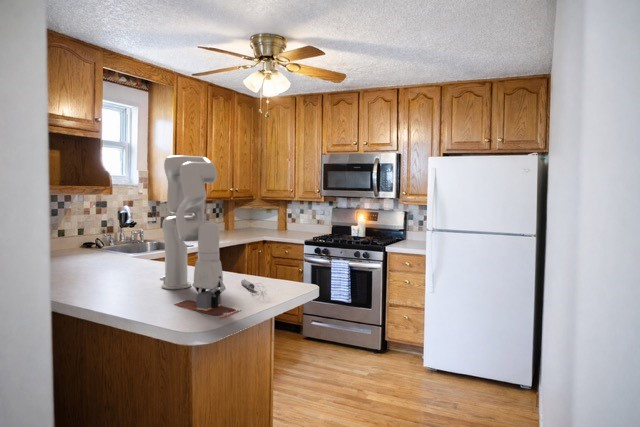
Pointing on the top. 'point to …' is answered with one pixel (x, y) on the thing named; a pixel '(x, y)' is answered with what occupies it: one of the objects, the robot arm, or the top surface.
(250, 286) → the kitchen whisk
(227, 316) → the carpenter pencil
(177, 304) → the wooden tablet
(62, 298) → the top surface
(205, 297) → the sanding block
